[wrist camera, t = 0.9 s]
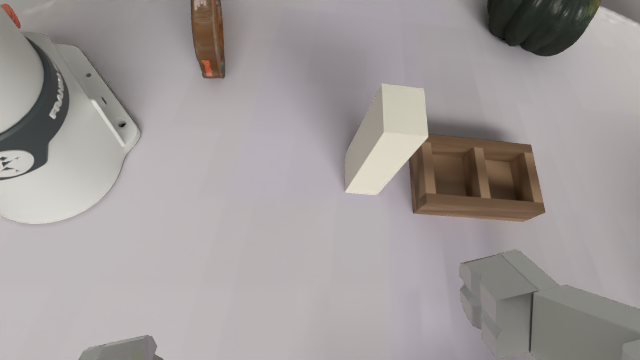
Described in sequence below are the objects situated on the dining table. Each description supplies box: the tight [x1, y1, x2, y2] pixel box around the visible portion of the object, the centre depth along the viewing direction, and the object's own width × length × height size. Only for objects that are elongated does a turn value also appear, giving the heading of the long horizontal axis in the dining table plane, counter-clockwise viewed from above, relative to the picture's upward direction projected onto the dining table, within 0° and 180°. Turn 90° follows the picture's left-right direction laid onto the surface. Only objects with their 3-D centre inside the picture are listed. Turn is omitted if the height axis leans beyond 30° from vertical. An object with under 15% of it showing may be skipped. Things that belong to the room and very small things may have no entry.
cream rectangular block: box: [345, 84, 428, 195], centre depth 40 cm, size 5×4×15 cm
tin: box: [191, 0, 225, 79], centre depth 47 cm, size 15×3×8 cm, turn 7°
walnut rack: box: [409, 134, 545, 222], centre depth 47 cm, size 9×15×4 cm, turn 88°
